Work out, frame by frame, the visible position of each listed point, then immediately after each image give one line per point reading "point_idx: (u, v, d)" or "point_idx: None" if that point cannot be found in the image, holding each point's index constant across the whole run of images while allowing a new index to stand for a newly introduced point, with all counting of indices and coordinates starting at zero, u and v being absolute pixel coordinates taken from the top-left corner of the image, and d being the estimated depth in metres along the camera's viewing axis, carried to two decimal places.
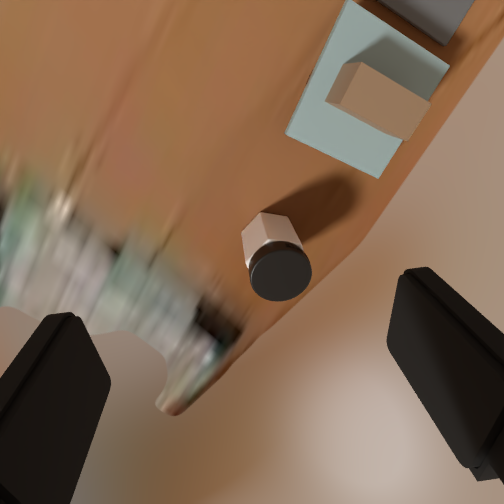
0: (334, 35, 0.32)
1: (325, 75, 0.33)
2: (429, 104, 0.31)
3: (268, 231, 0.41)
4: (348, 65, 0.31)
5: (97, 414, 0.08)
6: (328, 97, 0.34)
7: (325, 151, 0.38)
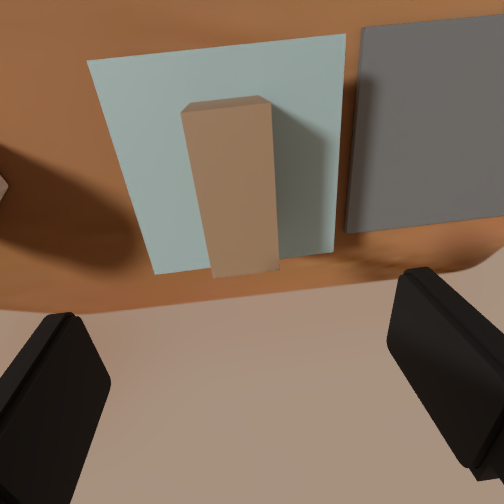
0: (287, 45, 0.16)
1: (225, 72, 0.17)
2: (277, 267, 0.18)
3: None
4: (258, 97, 0.16)
5: (97, 414, 0.08)
6: (197, 102, 0.17)
7: (123, 164, 0.19)
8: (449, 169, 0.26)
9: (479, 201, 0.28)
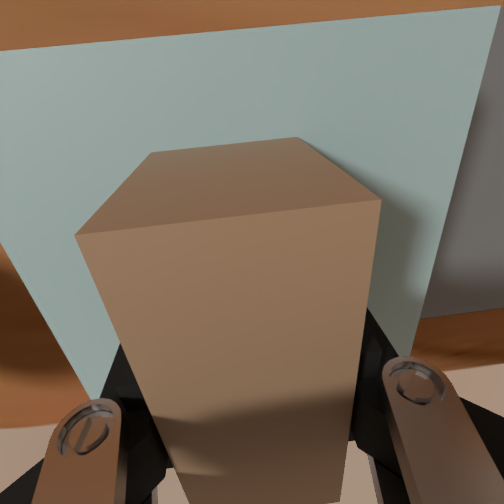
0: (369, 31, 0.07)
1: (228, 90, 0.08)
2: (335, 499, 0.08)
3: None
4: (307, 152, 0.07)
5: None
6: (164, 156, 0.08)
7: (22, 267, 0.09)
8: None
9: None
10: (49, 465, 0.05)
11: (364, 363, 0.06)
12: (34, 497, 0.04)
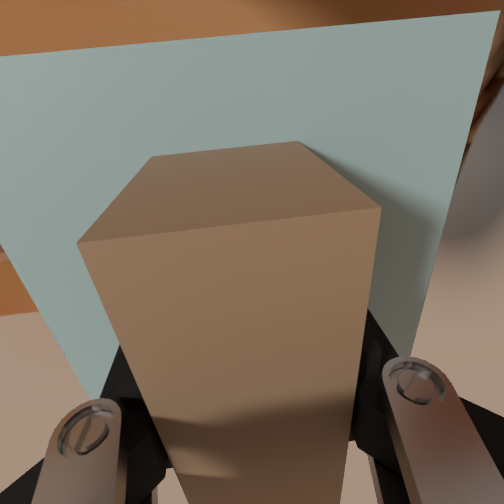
0: (369, 36, 0.07)
1: (228, 95, 0.08)
2: (335, 501, 0.08)
3: None
4: (307, 157, 0.07)
5: None
6: (164, 160, 0.08)
7: (23, 271, 0.09)
8: None
9: None
10: (49, 465, 0.05)
11: (364, 363, 0.06)
12: (34, 497, 0.04)
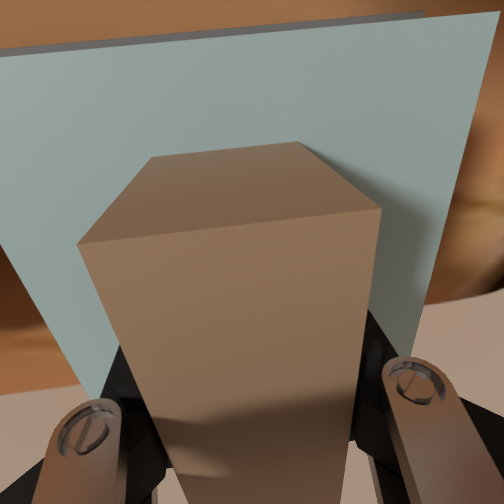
0: (369, 36, 0.07)
1: (228, 95, 0.08)
2: (335, 502, 0.08)
3: None
4: (307, 158, 0.07)
5: None
6: (164, 161, 0.08)
7: (23, 271, 0.09)
8: None
9: None
10: (49, 465, 0.05)
11: (364, 363, 0.06)
12: (34, 497, 0.04)
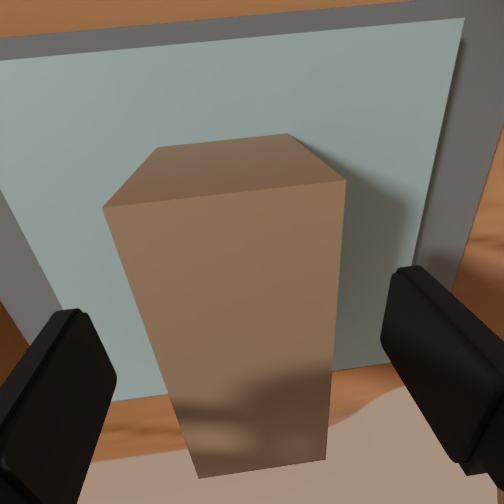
0: (349, 40, 0.08)
1: (225, 92, 0.09)
2: (321, 457, 0.09)
3: None
4: (293, 146, 0.08)
5: (104, 409, 0.09)
6: (169, 150, 0.09)
7: (39, 252, 0.10)
8: None
9: None
10: None
11: None
12: None
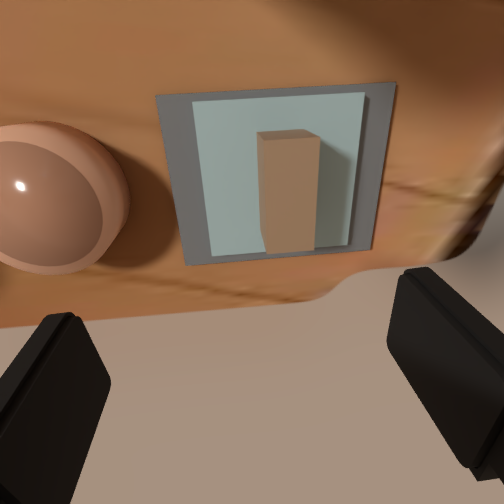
0: (326, 98, 0.24)
1: (283, 113, 0.25)
2: (312, 248, 0.25)
3: None
4: (306, 131, 0.24)
5: (97, 414, 0.08)
6: (262, 132, 0.25)
7: (203, 172, 0.26)
8: None
9: None
10: None
11: None
12: None
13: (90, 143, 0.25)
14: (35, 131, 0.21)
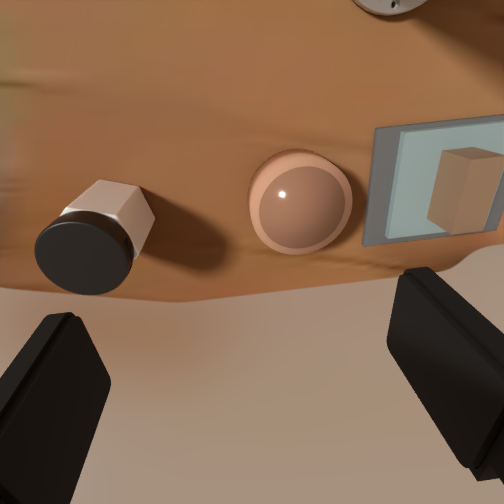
0: (493, 125, 0.36)
1: (462, 137, 0.36)
2: (481, 229, 0.37)
3: (125, 209, 0.31)
4: (484, 150, 0.35)
5: (97, 414, 0.08)
6: (449, 151, 0.36)
7: (399, 179, 0.38)
8: None
9: None
10: None
11: None
12: None
13: None
14: (320, 159, 0.33)
